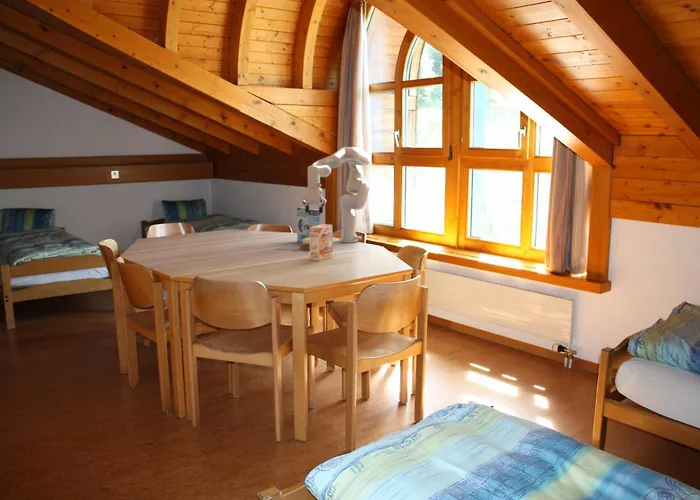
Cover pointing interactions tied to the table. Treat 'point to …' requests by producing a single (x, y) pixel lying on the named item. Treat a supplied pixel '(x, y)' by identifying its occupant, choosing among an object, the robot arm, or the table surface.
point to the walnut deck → (305, 246)
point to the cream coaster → (306, 240)
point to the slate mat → (289, 247)
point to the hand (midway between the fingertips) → (314, 212)
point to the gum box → (306, 222)
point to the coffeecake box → (320, 242)
